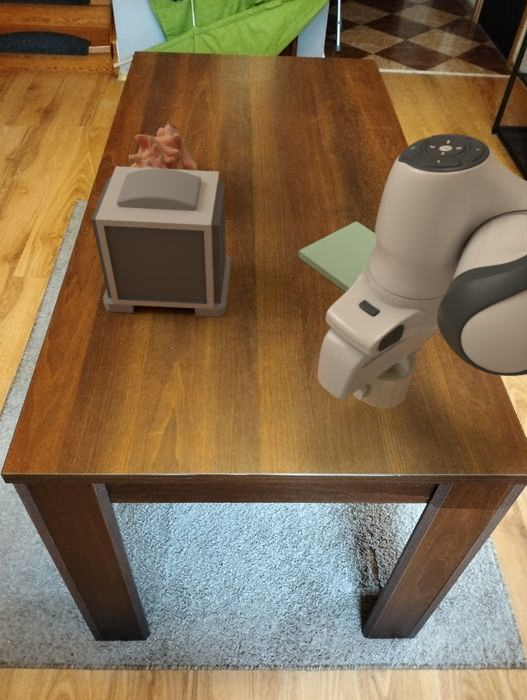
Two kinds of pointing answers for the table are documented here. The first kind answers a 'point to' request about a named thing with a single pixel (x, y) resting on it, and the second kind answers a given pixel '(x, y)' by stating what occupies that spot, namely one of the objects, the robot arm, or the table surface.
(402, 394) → the beige cup
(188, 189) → the alarm clock
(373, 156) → the table surface
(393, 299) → the robot arm
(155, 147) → the seashell
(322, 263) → the scale
